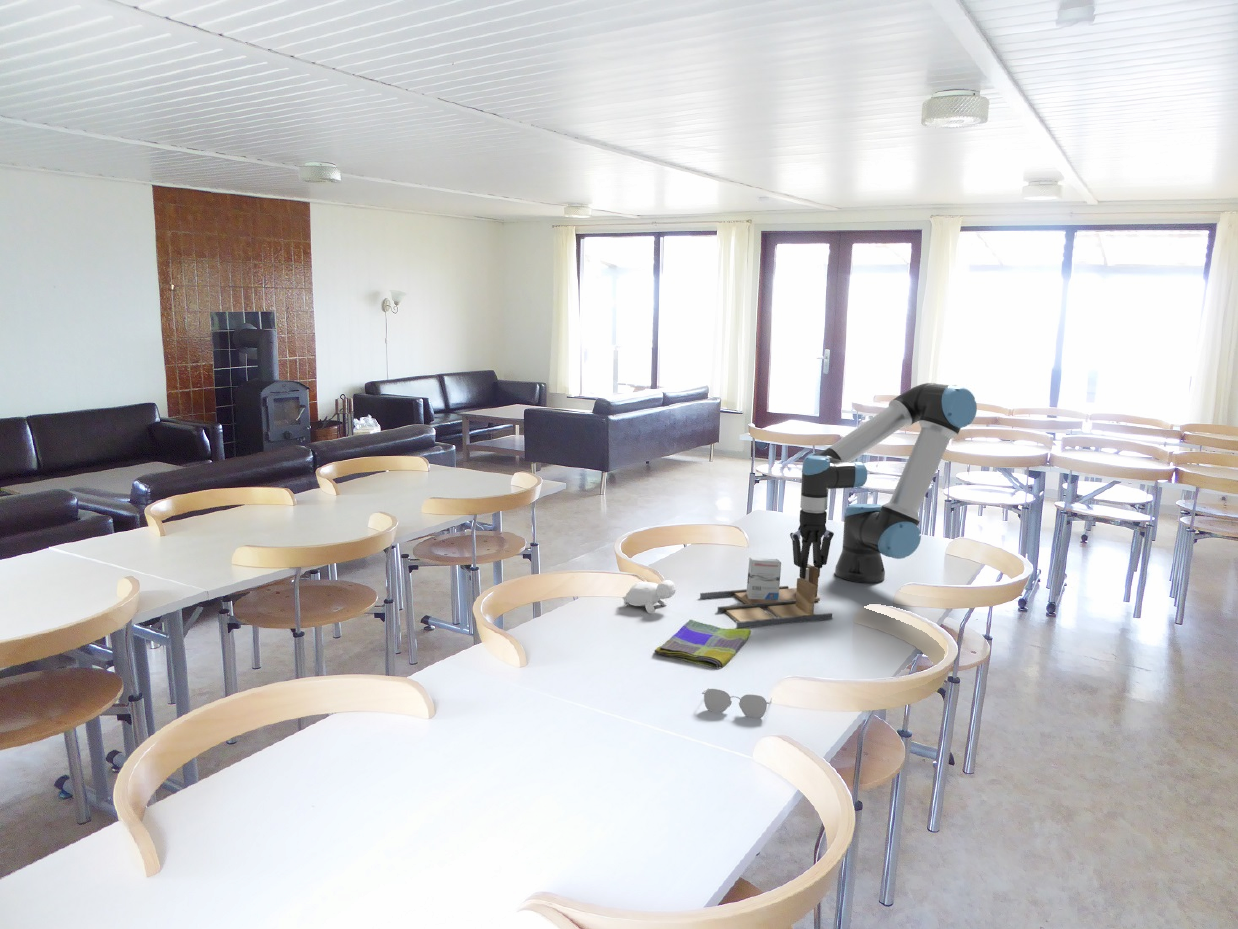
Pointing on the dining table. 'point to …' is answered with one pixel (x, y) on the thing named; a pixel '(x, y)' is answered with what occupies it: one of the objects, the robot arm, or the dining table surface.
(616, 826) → the dining table surface
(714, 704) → the sunglasses
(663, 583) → the white animal figurine
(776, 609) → the wooden l-shaped stand
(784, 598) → the tan wooden holder
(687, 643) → the dish towel
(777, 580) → the ink box
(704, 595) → the lane rails
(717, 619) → the dining table surface
